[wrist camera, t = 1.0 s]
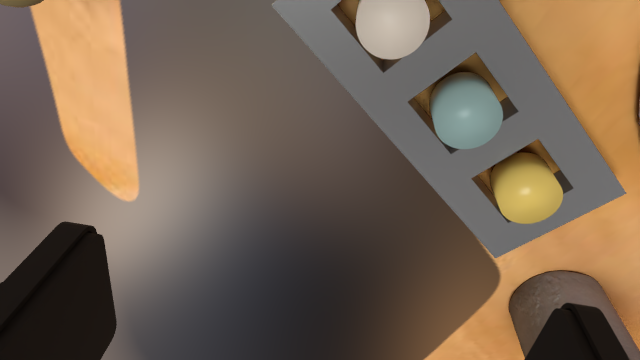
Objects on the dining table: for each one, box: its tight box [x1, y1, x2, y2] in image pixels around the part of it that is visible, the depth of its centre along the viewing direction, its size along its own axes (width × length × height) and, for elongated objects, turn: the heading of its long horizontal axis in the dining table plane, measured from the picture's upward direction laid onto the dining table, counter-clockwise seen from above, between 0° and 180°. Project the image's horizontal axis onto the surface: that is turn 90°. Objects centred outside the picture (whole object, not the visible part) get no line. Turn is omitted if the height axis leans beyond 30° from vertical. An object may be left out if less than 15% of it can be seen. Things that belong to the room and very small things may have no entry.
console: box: [271, 0, 626, 258], centre depth 36 cm, size 12×30×3 cm, turn 42°
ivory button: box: [356, 0, 430, 59], centre depth 31 cm, size 5×5×3 cm
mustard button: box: [490, 153, 563, 224], centre depth 38 cm, size 5×5×3 cm
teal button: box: [429, 72, 503, 149], centre depth 34 cm, size 5×5×3 cm
